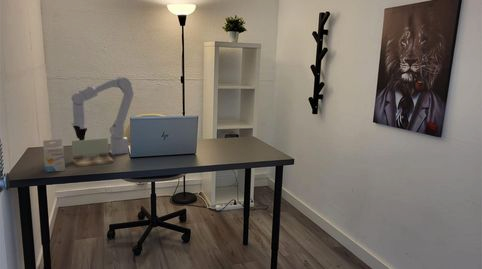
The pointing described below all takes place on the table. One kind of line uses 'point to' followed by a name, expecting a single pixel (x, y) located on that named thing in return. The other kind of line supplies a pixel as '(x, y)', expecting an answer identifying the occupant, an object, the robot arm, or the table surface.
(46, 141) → the ink box
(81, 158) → the base leaf
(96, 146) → the hinge leaf
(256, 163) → the table surface
